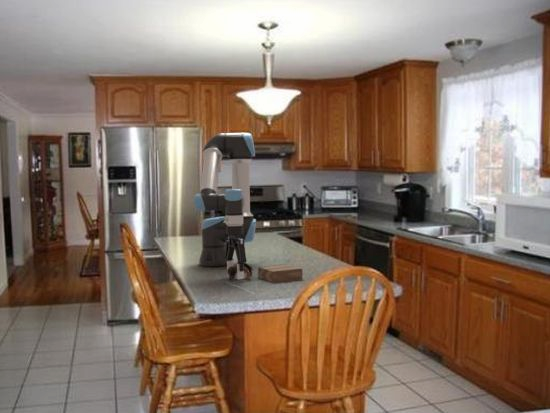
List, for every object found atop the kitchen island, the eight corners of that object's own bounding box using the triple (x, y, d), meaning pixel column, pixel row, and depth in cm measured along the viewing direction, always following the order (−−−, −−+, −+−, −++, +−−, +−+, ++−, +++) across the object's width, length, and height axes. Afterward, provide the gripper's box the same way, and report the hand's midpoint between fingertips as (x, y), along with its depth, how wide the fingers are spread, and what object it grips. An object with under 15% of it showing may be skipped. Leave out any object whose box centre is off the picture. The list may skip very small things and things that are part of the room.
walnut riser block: (258, 278, 245) (258, 267, 244) (286, 275, 251) (286, 264, 251) (273, 283, 232) (273, 271, 232) (302, 280, 239) (302, 268, 239)
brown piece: (236, 276, 248) (245, 260, 247) (250, 288, 243) (259, 272, 242) (218, 274, 239) (227, 258, 238) (232, 286, 233) (241, 270, 232)
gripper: (215, 224, 248) (217, 274, 249) (237, 227, 228) (238, 281, 229) (231, 223, 251) (232, 273, 252) (254, 226, 232) (255, 280, 233)
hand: (235, 277), depth 241 cm, fingers closed on brown piece, 9 cm apart
